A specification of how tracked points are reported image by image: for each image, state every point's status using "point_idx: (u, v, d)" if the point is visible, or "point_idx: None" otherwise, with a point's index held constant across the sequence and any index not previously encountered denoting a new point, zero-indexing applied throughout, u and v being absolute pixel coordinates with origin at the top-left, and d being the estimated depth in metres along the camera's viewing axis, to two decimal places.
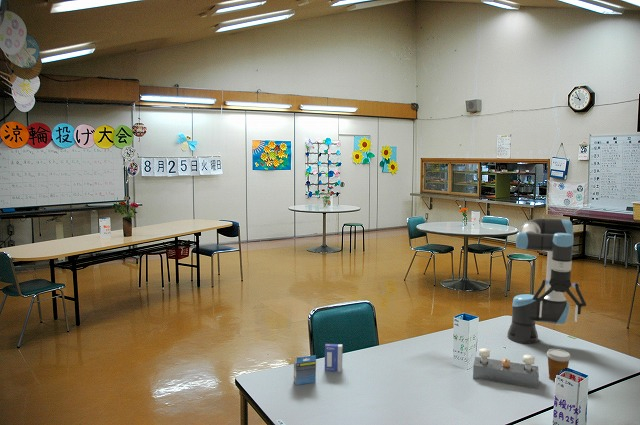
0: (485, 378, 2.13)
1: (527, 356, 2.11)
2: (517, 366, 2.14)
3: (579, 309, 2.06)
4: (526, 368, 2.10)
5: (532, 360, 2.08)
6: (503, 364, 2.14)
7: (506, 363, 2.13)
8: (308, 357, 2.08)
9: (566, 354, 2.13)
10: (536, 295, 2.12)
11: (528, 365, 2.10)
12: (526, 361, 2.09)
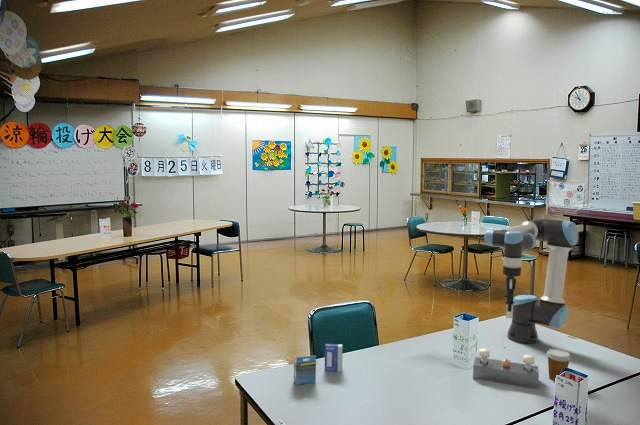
0: (485, 378, 2.13)
1: (527, 356, 2.11)
2: (517, 366, 2.14)
3: (508, 306, 2.20)
4: (526, 368, 2.10)
5: (532, 360, 2.08)
6: (503, 364, 2.14)
7: (506, 363, 2.13)
8: (308, 357, 2.08)
9: (566, 354, 2.13)
10: None
11: (528, 365, 2.10)
12: (526, 361, 2.09)
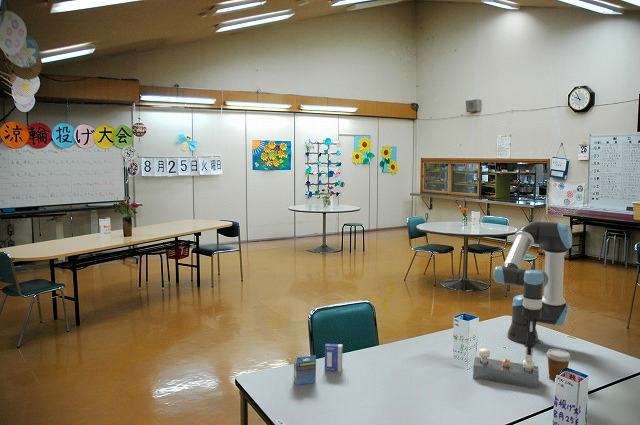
0: (485, 378, 2.13)
1: (526, 361, 2.11)
2: (517, 366, 2.14)
3: (527, 349, 2.09)
4: None
5: (532, 365, 2.09)
6: (503, 364, 2.14)
7: (506, 363, 2.13)
8: (308, 357, 2.08)
9: (566, 354, 2.13)
10: None
11: (528, 370, 2.10)
12: (526, 366, 2.09)
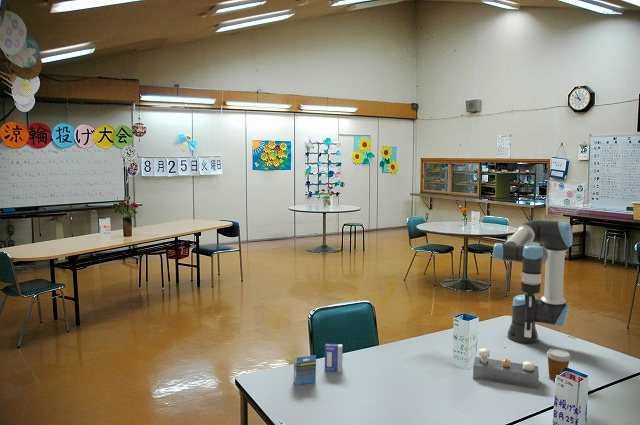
0: (485, 378, 2.13)
1: (526, 362, 2.11)
2: (517, 366, 2.14)
3: (526, 325, 2.08)
4: None
5: (532, 367, 2.09)
6: (503, 364, 2.14)
7: (506, 363, 2.13)
8: (308, 357, 2.08)
9: (566, 354, 2.13)
10: None
11: None
12: (526, 368, 2.09)
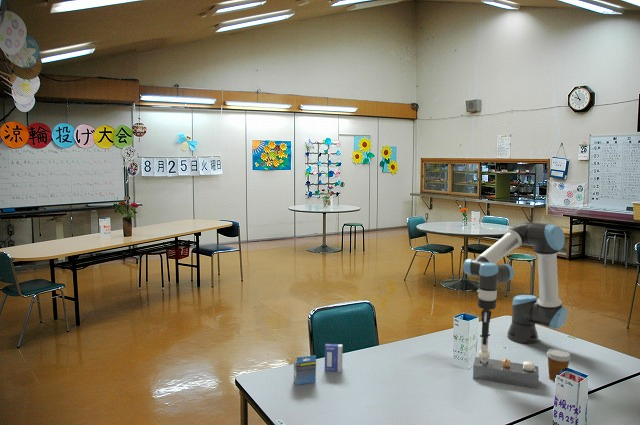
0: (485, 378, 2.13)
1: (526, 362, 2.11)
2: (517, 366, 2.14)
3: (483, 339, 2.15)
4: None
5: (532, 367, 2.09)
6: (503, 364, 2.14)
7: (506, 363, 2.13)
8: (308, 357, 2.08)
9: (566, 354, 2.13)
10: None
11: None
12: (526, 368, 2.09)
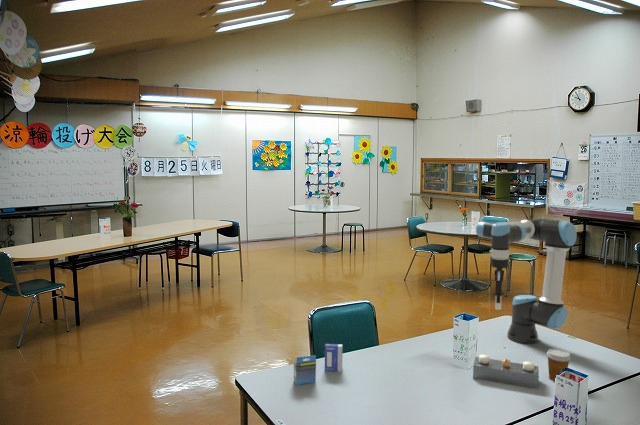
0: (485, 378, 2.13)
1: (526, 362, 2.11)
2: (517, 366, 2.14)
3: (496, 298, 2.22)
4: None
5: (532, 367, 2.09)
6: (503, 364, 2.14)
7: (506, 363, 2.13)
8: (308, 357, 2.08)
9: (566, 354, 2.13)
10: None
11: None
12: (526, 368, 2.09)
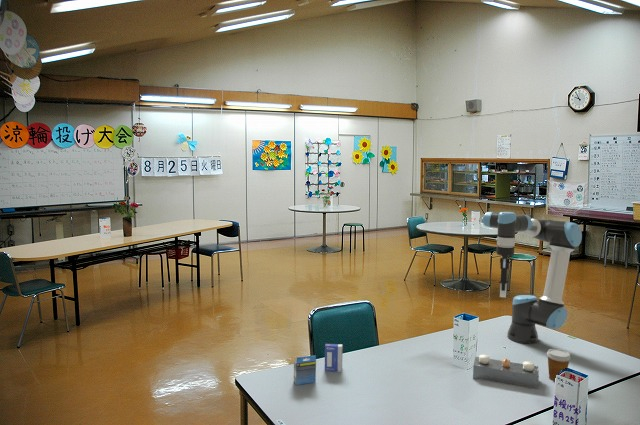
0: (485, 378, 2.13)
1: (526, 362, 2.11)
2: (517, 366, 2.14)
3: (501, 285, 2.25)
4: None
5: (532, 367, 2.09)
6: (503, 364, 2.14)
7: (506, 363, 2.13)
8: (308, 357, 2.08)
9: (566, 354, 2.13)
10: None
11: None
12: (526, 368, 2.09)
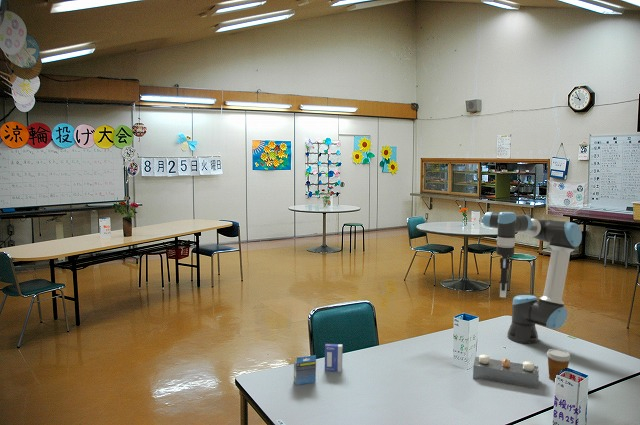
0: (485, 378, 2.13)
1: (526, 362, 2.11)
2: (517, 366, 2.14)
3: (501, 285, 2.25)
4: None
5: (532, 367, 2.09)
6: (503, 364, 2.14)
7: (505, 363, 2.13)
8: (308, 357, 2.08)
9: (566, 354, 2.13)
10: None
11: None
12: (526, 368, 2.09)
